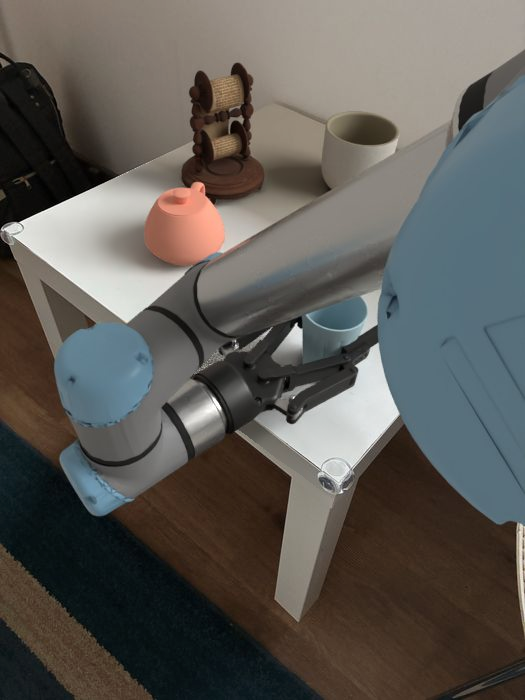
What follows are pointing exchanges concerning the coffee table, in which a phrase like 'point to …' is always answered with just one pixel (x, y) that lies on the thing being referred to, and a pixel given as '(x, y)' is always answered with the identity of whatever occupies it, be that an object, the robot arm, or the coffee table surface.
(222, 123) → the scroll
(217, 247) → the sugar bowl
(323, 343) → the cup
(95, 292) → the coffee table surface
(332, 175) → the planter
